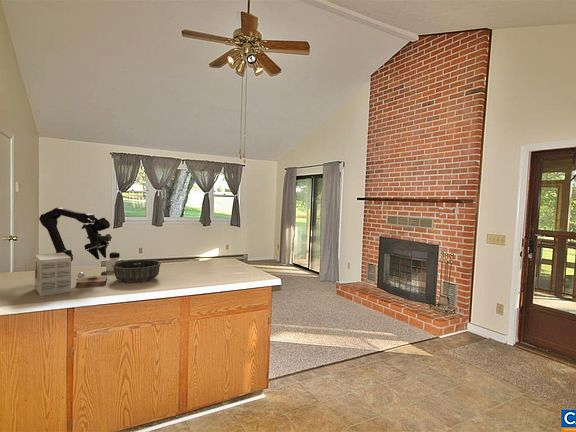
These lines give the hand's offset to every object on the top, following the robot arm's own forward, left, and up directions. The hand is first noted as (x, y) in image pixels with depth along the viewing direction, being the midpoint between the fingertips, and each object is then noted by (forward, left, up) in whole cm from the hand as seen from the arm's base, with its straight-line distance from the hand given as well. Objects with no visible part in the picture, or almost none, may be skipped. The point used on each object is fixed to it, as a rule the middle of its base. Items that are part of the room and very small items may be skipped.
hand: (101, 258), depth 199 cm
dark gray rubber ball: (+1, +5, -11) cm, 12 cm away
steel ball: (-11, +5, -11) cm, 16 cm away
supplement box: (-21, -19, -13) cm, 31 cm away
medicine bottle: (+6, +23, -13) cm, 27 cm away
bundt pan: (+19, -7, -13) cm, 24 cm away
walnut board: (-4, -9, -12) cm, 16 cm away
